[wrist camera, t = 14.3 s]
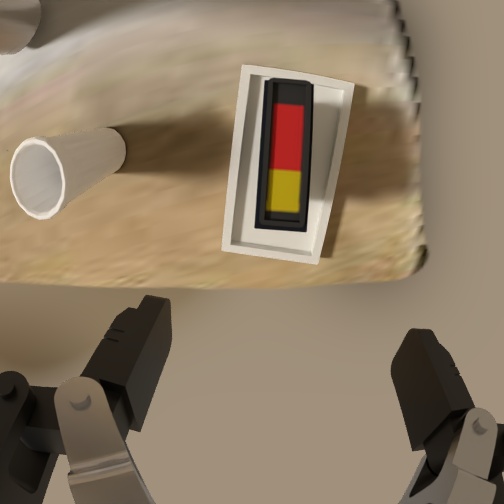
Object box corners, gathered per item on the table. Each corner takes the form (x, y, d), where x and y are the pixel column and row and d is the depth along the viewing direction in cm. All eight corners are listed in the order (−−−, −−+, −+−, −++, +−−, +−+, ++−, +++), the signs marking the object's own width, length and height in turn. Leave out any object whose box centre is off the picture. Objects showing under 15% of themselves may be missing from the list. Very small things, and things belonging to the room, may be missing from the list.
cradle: (244, 66, 30) (242, 64, 28) (350, 84, 29) (354, 83, 28) (223, 243, 40) (221, 250, 38) (316, 257, 40) (317, 264, 38)
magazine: (260, 223, 36) (253, 229, 21) (267, 114, 34) (265, 53, 19) (292, 225, 35) (308, 233, 21) (299, 116, 34) (316, 58, 19)
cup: (120, 190, 37) (56, 235, 25) (75, 164, 36) (4, 198, 23) (143, 135, 34) (77, 158, 21) (94, 110, 32) (18, 124, 20)
